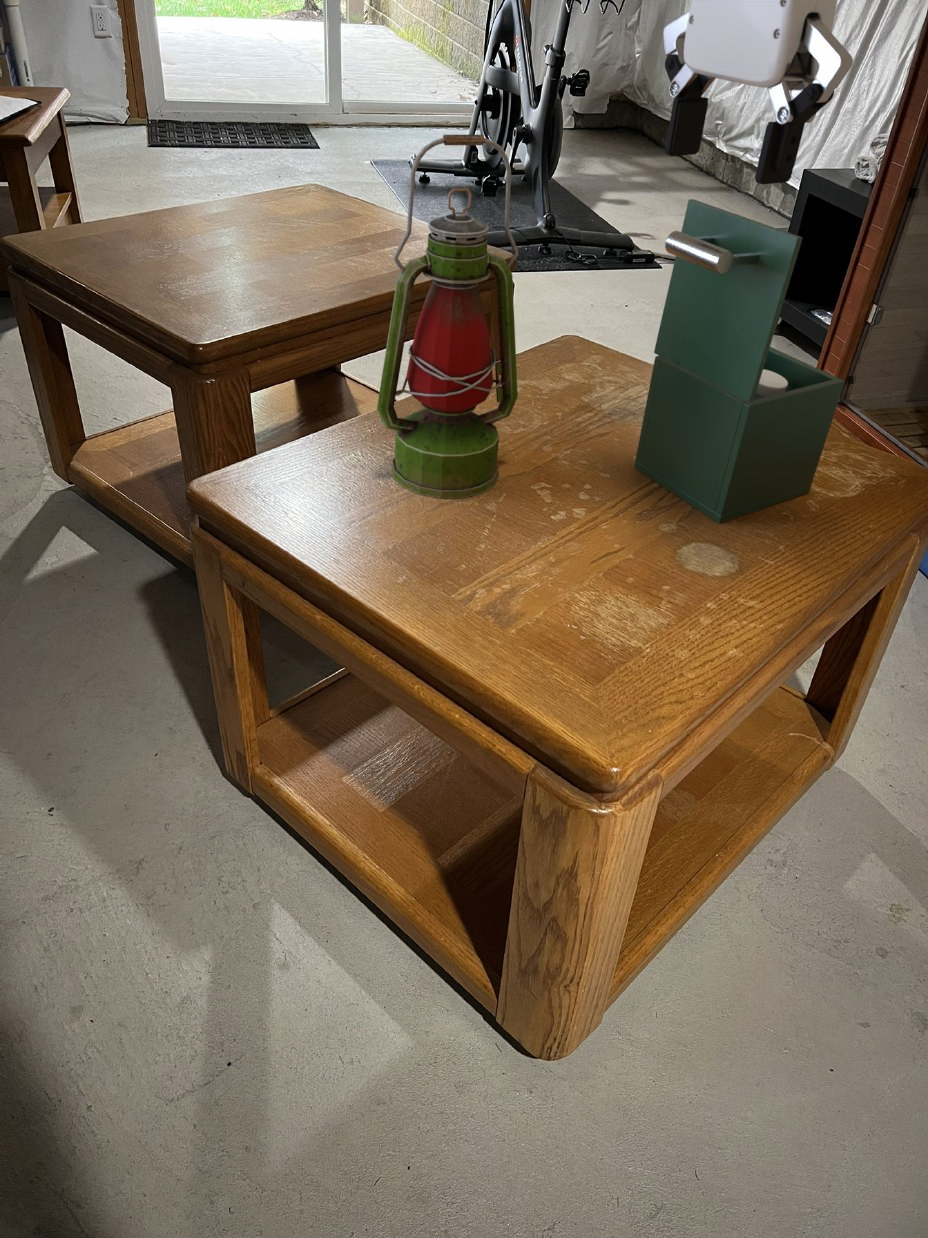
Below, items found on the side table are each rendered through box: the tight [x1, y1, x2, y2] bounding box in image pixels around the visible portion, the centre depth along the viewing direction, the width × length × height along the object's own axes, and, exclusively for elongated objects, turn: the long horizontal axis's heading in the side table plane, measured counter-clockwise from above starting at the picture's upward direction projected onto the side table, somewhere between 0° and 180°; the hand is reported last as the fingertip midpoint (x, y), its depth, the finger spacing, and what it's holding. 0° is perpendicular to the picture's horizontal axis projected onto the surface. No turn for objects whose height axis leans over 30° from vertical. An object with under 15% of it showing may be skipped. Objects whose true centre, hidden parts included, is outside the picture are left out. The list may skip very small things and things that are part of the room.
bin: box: [633, 346, 846, 524], centre depth 90 cm, size 13×12×12 cm
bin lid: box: [653, 198, 803, 402], centre depth 79 cm, size 14×12×5 cm
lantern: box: [376, 134, 519, 499], centre depth 83 cm, size 14×11×30 cm
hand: (724, 167), depth 72 cm, fingers open, 9 cm apart
